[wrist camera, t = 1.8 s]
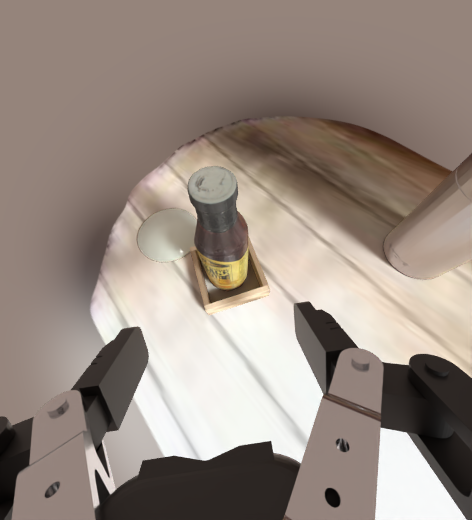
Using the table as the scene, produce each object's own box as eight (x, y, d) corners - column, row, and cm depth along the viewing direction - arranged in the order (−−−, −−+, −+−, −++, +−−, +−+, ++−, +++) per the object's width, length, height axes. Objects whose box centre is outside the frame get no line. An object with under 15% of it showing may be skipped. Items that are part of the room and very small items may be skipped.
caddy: (246, 240, 38) (246, 230, 35) (268, 295, 33) (270, 289, 31) (193, 256, 37) (189, 247, 34) (209, 315, 33) (205, 310, 30)
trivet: (192, 203, 42) (191, 201, 42) (206, 251, 37) (205, 249, 37) (135, 220, 41) (134, 218, 41) (142, 270, 37) (141, 269, 36)
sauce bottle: (201, 275, 35) (151, 182, 18) (228, 250, 37) (207, 142, 19) (230, 302, 33) (205, 227, 15) (257, 274, 35) (263, 177, 17)
